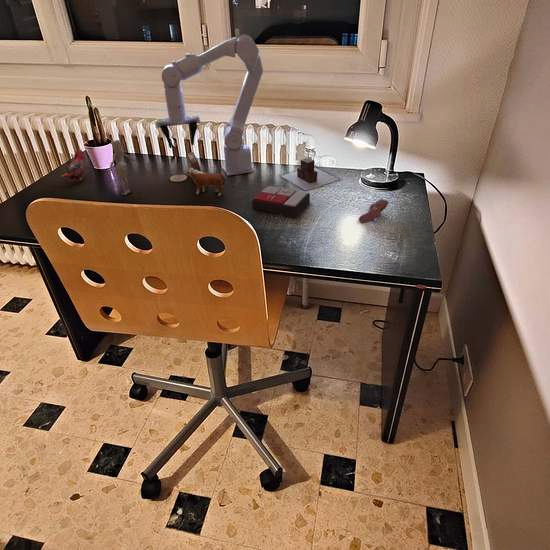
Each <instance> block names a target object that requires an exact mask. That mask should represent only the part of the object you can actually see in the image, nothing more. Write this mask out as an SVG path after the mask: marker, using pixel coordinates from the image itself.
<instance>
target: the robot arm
mask: <svg viewBox="0 0 550 550" xmlns="http://www.w3.org/2000/svg"><path fill="white" fill-rule="evenodd" d="M236 55H237V57H238V58H239V59H240V60H241V61H242V62H243V65H244V66H245V69H246V70H247V71H246V73H245V76H244V80H243V82H242V83H243V84H242V85H241V89H240V92H239V95H238V98H237V100H236V103H235V107H234V109H233V110H234V111H233V113H232V117H231V118H230V119H229V122H228V124H227V125H226V126H225V127H224V129H223V137H224V144H223V155H224V165H225V166H222V170H223V171H224V172H225V174H226V176H234V175H242V174H248V173H253V165H252V164H253V163H252V162H253V161H252V151H251V148H250V146H249V144H244V139H243V135H244V131H245V126H246V121H247V119H248V117H249V113H250V110H251V107H252V105H253V101H254V99H255V95H256V94H257V90H258V88H259V84H260V81H261V79H262V75H263V73H264V68H263V63H262V59H261V54H260V49H259V48H258V46H257V44H256V42H255V41H254V39H253V38H252V37H251V36H250V35H249V34H247V33H242V34H241V33H240V34H239V35H238V36H237V37H236V36H234V37H230V38H229V39H226V40H224V41H222V42H220V43H218V44H217V45H215V46H214V47H211V48H210V49H208V50H206V51H204V52H203V53H200V54H197V53H194V52H193V53H189V52H188V53H186V54H184V57H183V58H181V59H179V60H177V61H176V60H173V61H171V64H166V65H165V66H164V67H163V69H162V72H161V81H162V83H163V88H164V96H165V97H164V98H165V103H166V109H167V116H168V117H166V118H162V119H157V120H155V125H156V126H155V127H156V128H157V129H160V130H161V132H162V133H163V135H164V137H165V139H166V141H167V144H168V147H169V149H172V148H173V146H172V142H171V141H172V140H171V134H170V129H169V127H172V126H181V125H188V131H189V139H190V144H191V146H194V145H195V137H196V132H197V130H198V126H199V125H198V124H201V120H200V116H199V115H188V116H187V114H186V107H185V99H184V93H183V89H182V82H181V81H186V80H188V79H190V78H193V77H194V76H196V75H198V74H200V73H202V72H203V67H204V66H206V65H209V64H210V63H213V62H215V61H218V60H220V59H222V58H225V57H229V58H230V57H231V58H236Z"/></svg>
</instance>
